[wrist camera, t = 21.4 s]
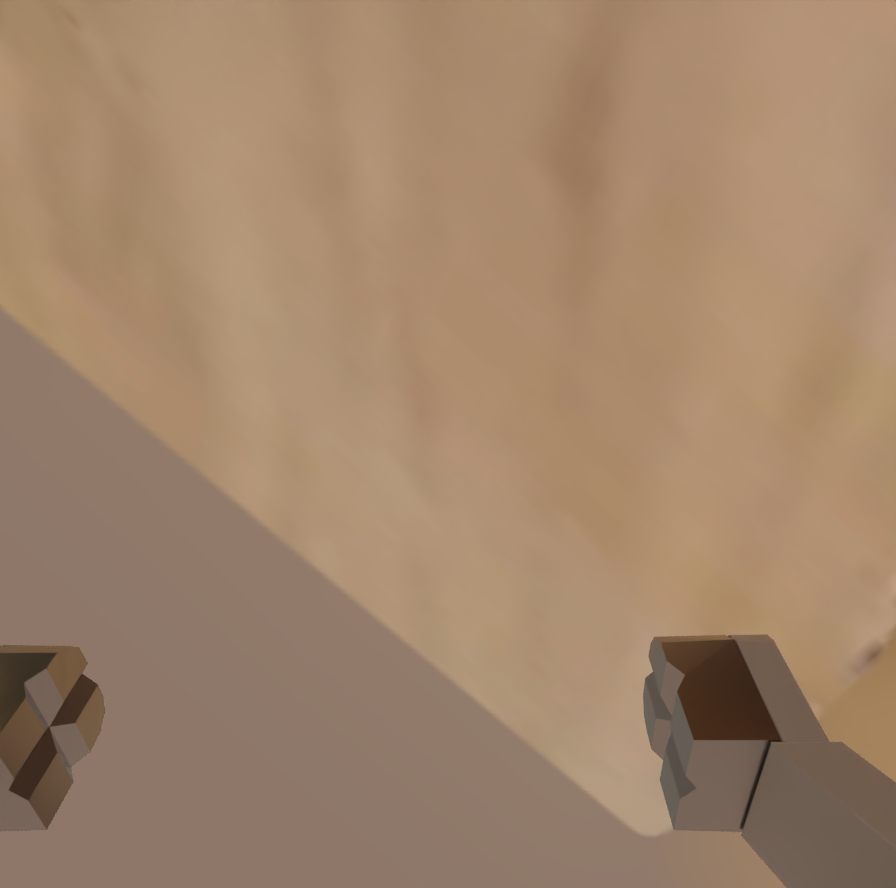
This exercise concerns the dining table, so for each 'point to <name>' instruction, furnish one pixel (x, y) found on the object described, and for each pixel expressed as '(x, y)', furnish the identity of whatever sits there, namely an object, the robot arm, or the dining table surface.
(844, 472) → the dining table surface
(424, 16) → the dining table surface
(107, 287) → the dining table surface
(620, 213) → the dining table surface
